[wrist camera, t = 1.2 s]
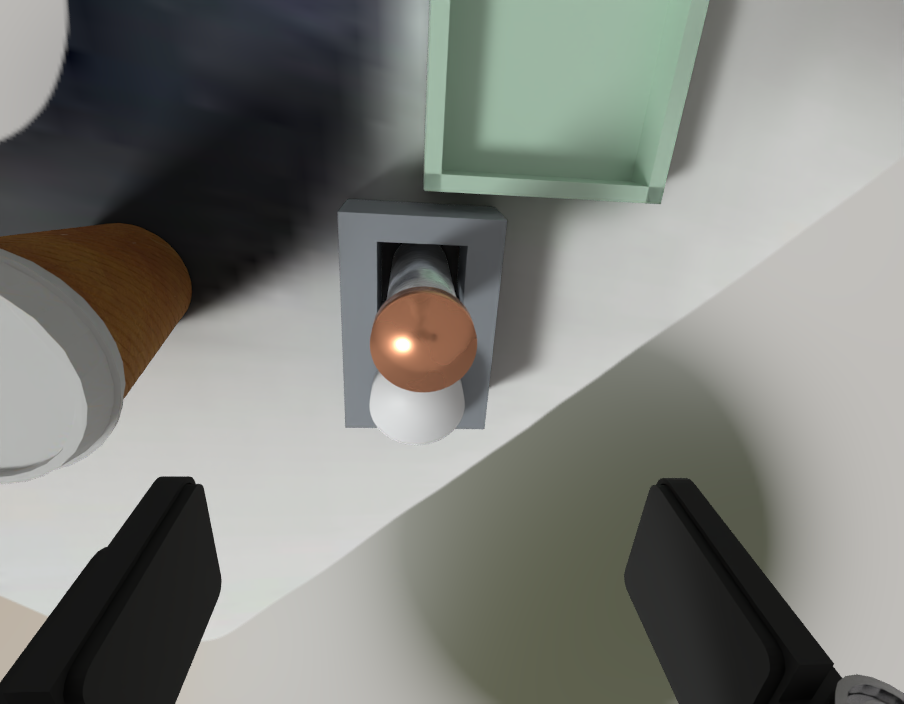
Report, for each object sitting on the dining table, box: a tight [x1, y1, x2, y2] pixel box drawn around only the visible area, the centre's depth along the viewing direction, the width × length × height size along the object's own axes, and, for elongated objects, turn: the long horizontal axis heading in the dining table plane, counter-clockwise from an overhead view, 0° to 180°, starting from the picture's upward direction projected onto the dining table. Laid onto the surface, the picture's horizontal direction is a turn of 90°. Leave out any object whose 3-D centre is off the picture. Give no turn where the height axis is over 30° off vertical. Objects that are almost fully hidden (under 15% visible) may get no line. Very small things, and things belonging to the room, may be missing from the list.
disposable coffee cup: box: [0, 223, 192, 484], centre depth 22 cm, size 10×10×12 cm
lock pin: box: [370, 243, 477, 392], centre depth 23 cm, size 4×4×11 cm
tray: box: [423, 0, 709, 204], centre depth 22 cm, size 14×12×3 cm
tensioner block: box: [337, 199, 507, 445], centre depth 26 cm, size 12×8×6 cm, turn 176°
